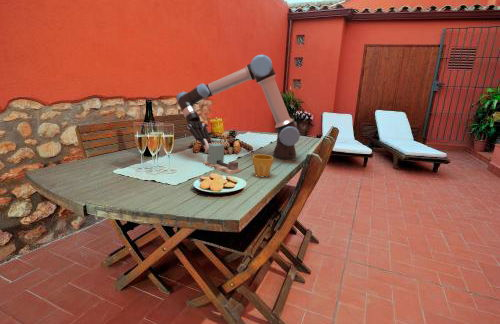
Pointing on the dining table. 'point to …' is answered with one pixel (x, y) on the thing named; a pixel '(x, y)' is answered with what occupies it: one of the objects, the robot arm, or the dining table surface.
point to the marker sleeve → (215, 153)
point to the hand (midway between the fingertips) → (208, 149)
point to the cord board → (225, 166)
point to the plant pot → (262, 164)
